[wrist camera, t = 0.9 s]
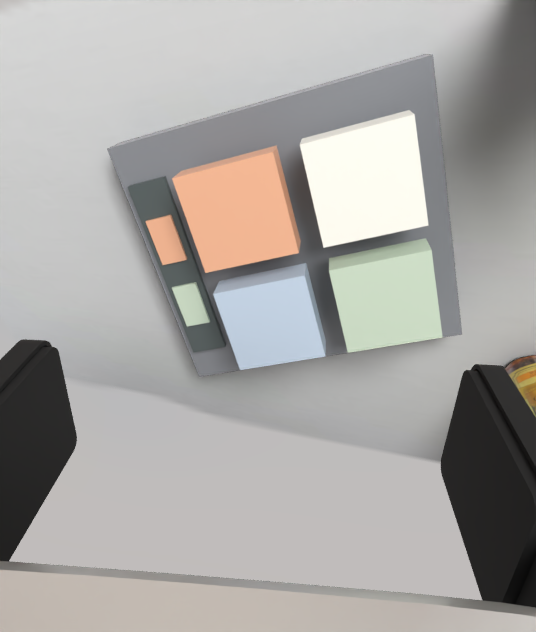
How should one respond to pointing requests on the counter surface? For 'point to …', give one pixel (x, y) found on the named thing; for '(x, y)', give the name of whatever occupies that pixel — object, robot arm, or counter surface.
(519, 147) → the counter surface
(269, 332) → the blue key
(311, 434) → the counter surface
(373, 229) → the cream key
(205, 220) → the terracotta key
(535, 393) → the sauce bottle
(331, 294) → the keypad
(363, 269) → the sage key
